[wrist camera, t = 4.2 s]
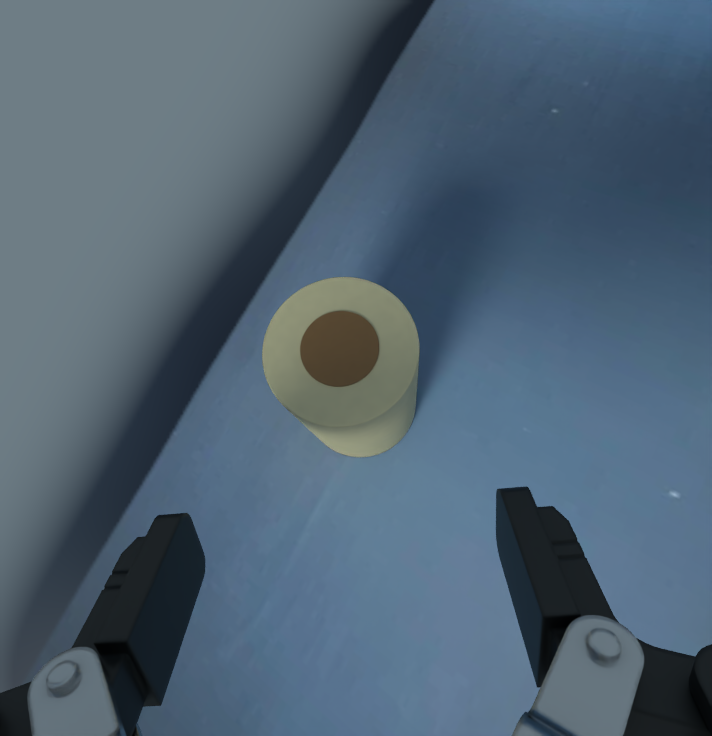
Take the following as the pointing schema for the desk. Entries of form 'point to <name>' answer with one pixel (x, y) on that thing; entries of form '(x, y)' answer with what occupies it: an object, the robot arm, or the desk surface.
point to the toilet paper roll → (345, 364)
